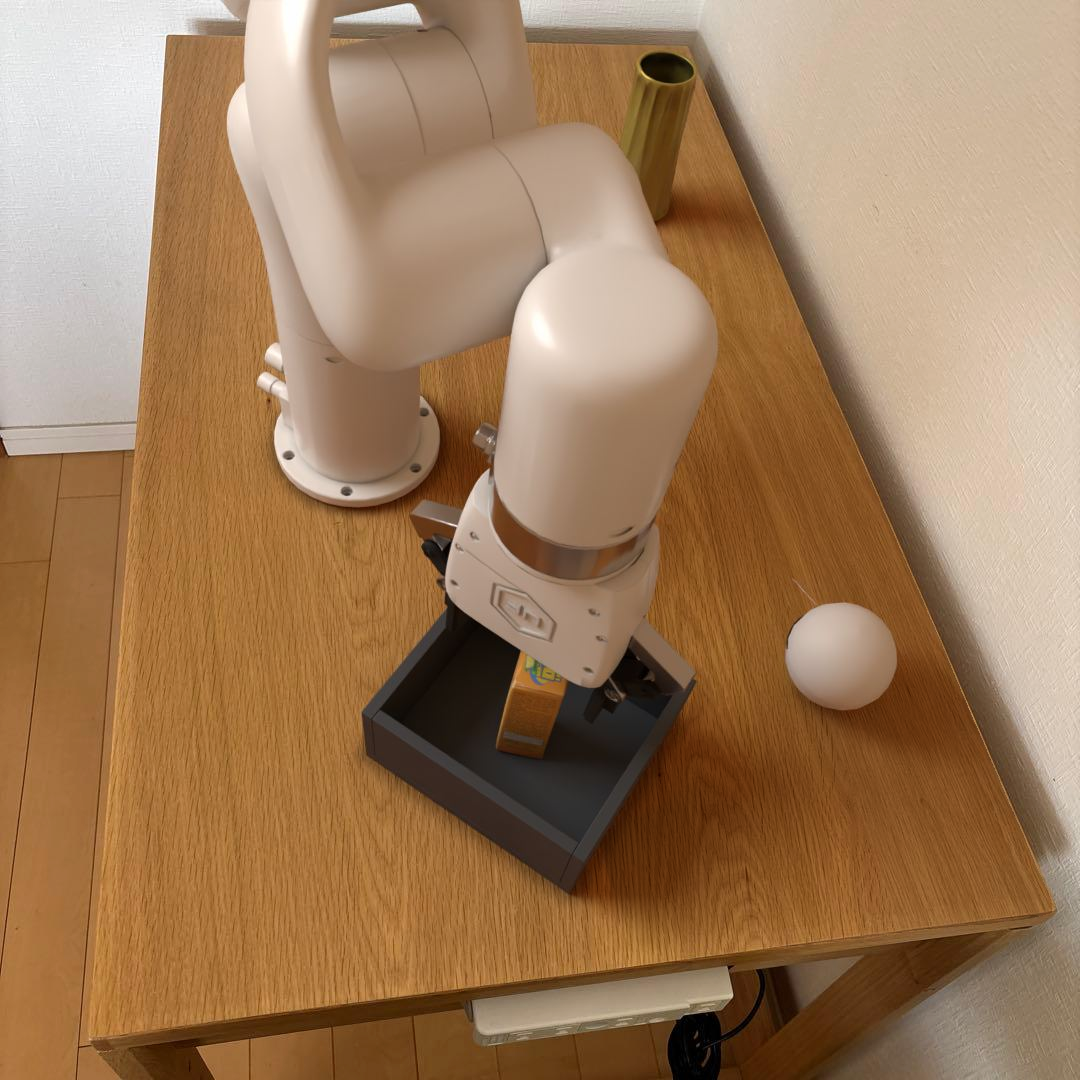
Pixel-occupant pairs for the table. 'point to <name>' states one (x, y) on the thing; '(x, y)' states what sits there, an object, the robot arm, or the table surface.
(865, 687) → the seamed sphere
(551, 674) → the supplement box
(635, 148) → the vase
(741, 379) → the table surface
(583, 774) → the bin
